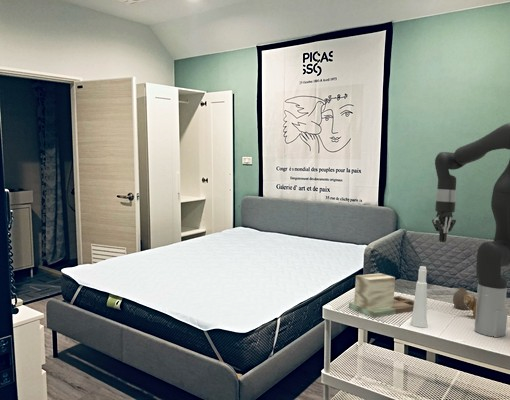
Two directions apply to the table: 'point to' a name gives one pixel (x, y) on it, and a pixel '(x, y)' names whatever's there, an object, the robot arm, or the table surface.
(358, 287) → the maple block
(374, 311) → the trap box
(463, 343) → the table surface
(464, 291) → the vase
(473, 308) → the lion figurine
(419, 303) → the cosmetic bottle
